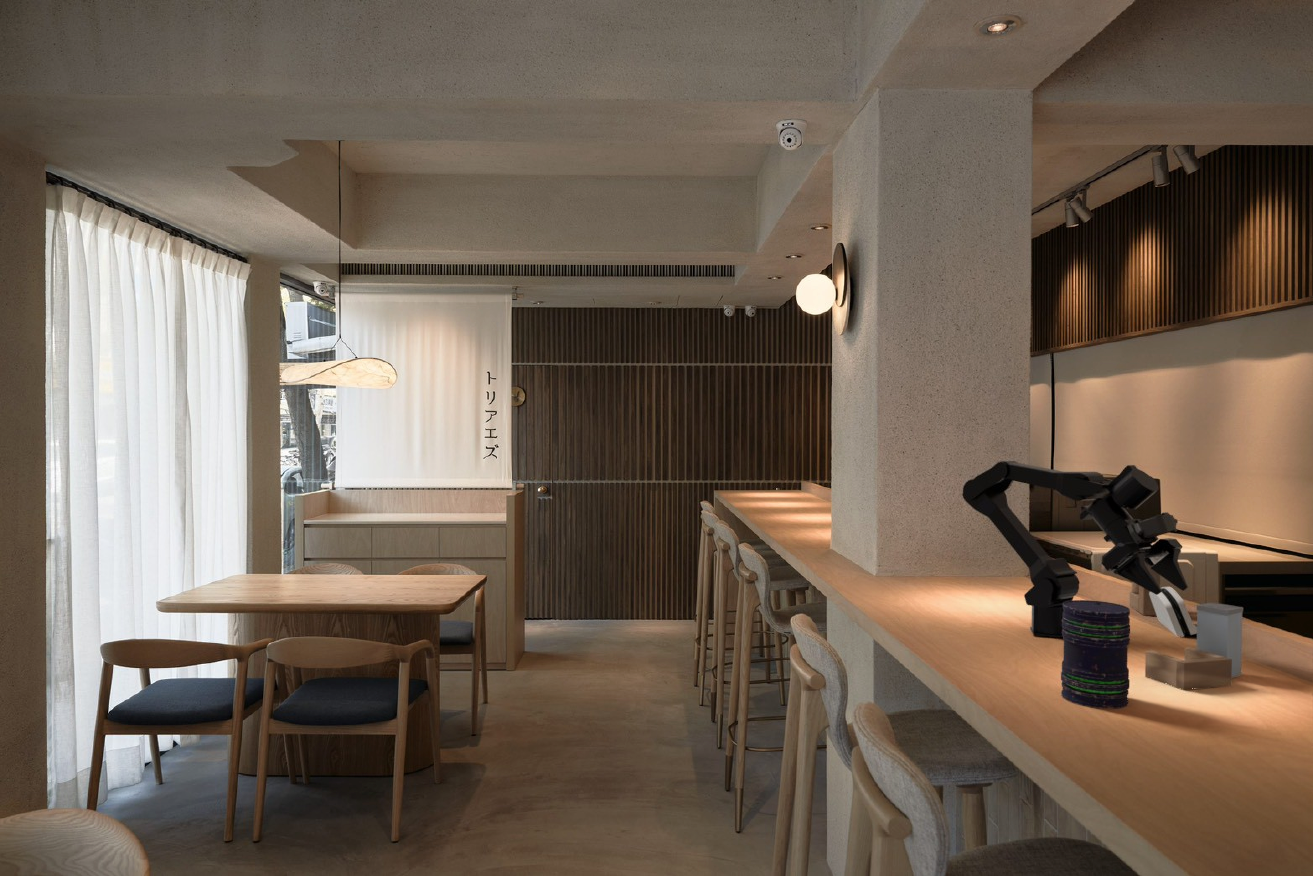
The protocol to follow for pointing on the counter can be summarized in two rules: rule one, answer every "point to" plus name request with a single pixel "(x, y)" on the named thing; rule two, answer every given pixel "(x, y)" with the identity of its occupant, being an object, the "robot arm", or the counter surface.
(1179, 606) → the hinge
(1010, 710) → the counter surface
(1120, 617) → the storage jar
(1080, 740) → the counter surface
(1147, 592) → the wooden block
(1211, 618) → the rail post
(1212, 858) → the counter surface
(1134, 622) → the counter surface
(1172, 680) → the block
